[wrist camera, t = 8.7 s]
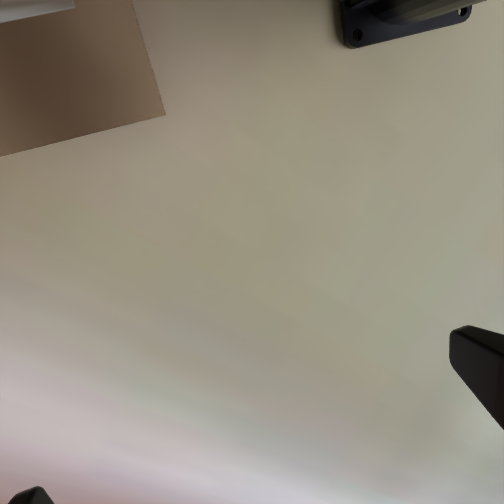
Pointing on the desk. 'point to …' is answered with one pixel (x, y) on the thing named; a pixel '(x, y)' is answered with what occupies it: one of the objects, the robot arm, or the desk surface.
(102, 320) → the desk surface
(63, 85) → the ridge board
